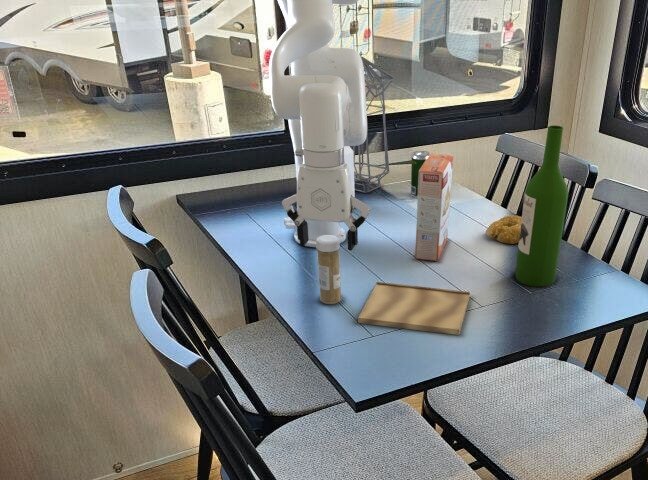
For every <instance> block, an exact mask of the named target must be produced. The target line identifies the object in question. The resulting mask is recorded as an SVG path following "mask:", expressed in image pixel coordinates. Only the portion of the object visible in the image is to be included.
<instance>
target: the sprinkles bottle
mask: <svg viewBox="0 0 648 480" xmlns="http://www.w3.org/2000/svg"><path fill="white" fill-rule="evenodd" d="M340 244H341V243H340ZM340 244H339V238H338V237H336V236H332V235H324V236H320V237H318V238H317V239H316V247H315V249H316V251H317V271H318V284H319V301H320V302H321V303H322V304H325V305H335V304H338V303H340V302H341V301H342V299H343V298H342V291H341V285H342V283H341V282H342V281H341V265H340Z"/></svg>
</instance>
